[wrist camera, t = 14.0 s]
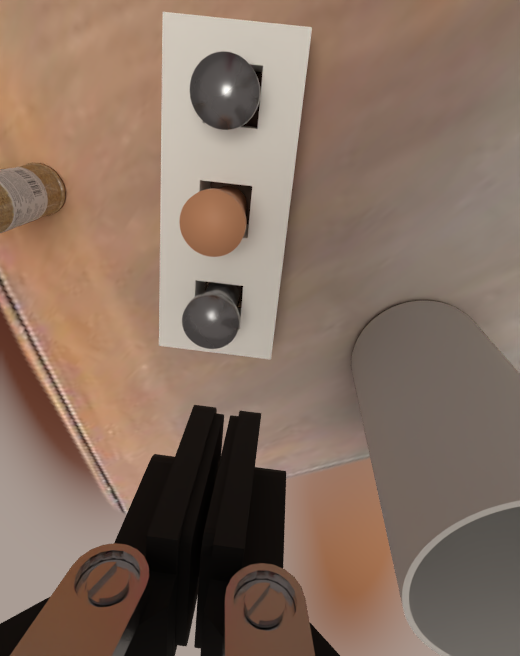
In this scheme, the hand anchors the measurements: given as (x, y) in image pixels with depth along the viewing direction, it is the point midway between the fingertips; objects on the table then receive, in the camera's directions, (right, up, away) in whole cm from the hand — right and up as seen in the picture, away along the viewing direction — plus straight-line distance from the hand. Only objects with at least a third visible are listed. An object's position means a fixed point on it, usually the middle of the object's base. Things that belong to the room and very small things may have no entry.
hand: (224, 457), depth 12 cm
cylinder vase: (+16, 0, +34) cm, 38 cm away
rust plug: (-2, +13, +27) cm, 30 cm away
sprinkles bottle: (-18, +16, +30) cm, 39 cm away
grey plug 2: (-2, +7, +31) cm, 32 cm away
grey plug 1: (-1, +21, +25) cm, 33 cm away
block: (-2, +14, +29) cm, 32 cm away
